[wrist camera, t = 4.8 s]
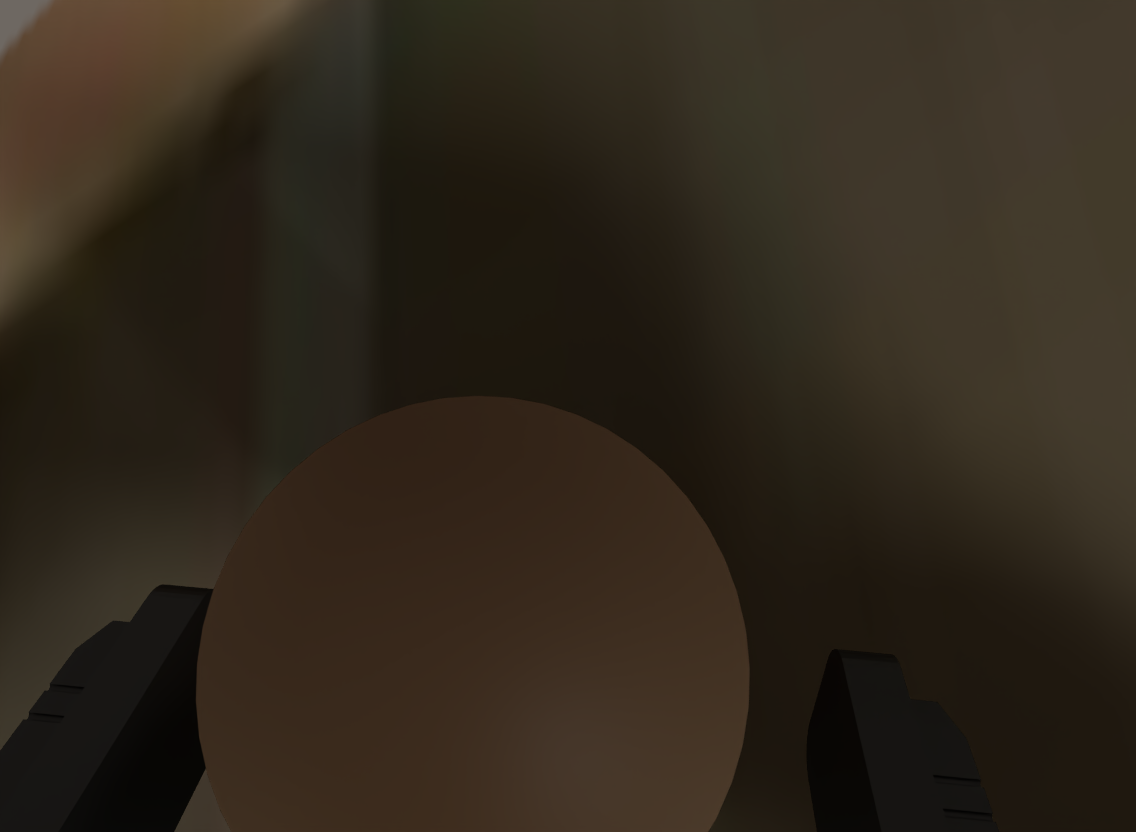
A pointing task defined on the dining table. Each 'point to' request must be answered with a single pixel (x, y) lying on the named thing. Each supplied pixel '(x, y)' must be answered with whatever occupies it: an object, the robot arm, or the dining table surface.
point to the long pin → (473, 636)
